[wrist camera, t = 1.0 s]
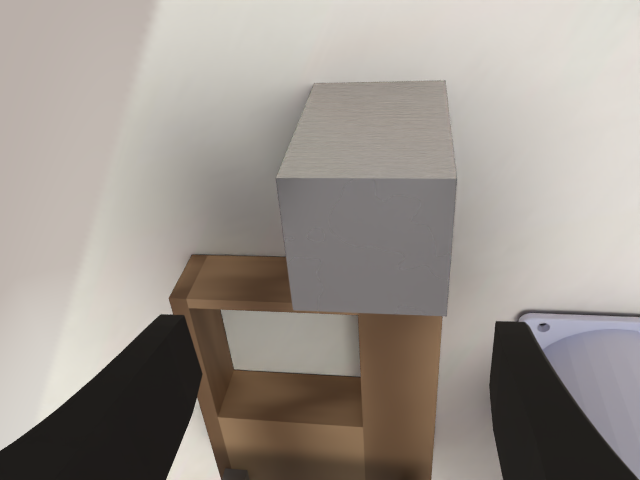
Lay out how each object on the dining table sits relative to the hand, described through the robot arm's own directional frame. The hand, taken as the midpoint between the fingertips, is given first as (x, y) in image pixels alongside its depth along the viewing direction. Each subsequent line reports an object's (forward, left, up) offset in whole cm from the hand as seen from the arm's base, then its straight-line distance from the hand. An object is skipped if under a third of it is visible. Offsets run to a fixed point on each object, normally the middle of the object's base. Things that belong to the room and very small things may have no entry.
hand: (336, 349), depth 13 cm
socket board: (+3, +12, -10) cm, 16 cm away
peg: (0, 0, -10) cm, 11 cm away
